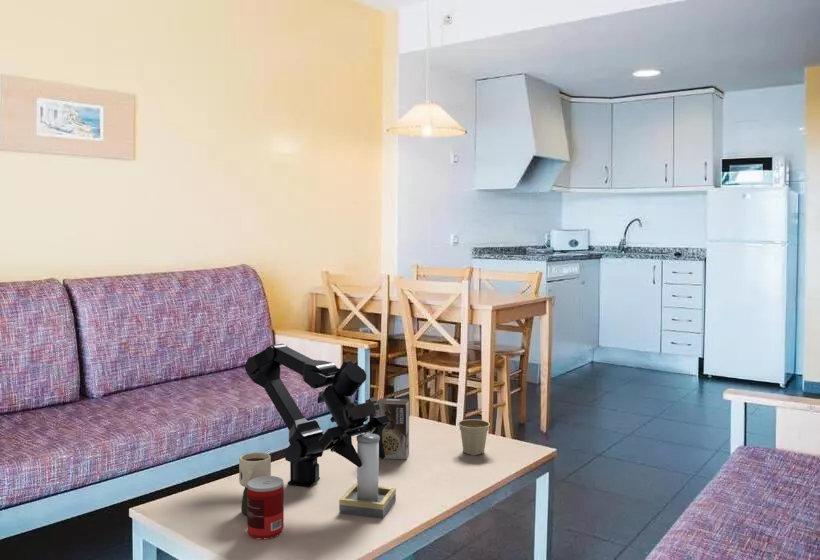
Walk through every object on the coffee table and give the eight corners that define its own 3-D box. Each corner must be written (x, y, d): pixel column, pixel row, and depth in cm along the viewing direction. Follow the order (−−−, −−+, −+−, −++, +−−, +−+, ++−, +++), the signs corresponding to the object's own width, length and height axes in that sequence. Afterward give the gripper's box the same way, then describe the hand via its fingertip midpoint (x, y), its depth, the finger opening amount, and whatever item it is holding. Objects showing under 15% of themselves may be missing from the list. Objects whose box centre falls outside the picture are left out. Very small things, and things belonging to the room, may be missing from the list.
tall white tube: (357, 503, 162) (357, 440, 161) (355, 494, 168) (355, 433, 167) (380, 502, 163) (380, 439, 162) (378, 493, 168) (378, 433, 168)
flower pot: (452, 448, 211) (453, 420, 210) (481, 446, 213) (482, 418, 213) (464, 458, 202) (465, 428, 201) (494, 455, 204) (495, 426, 204)
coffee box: (409, 453, 206) (410, 398, 205) (406, 460, 200) (406, 404, 198) (379, 451, 207) (379, 397, 206) (374, 458, 201) (375, 402, 200)
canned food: (286, 524, 156) (286, 475, 155) (280, 539, 148) (280, 488, 147) (251, 524, 155) (250, 475, 155) (243, 540, 147) (243, 488, 147)
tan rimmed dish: (339, 513, 162) (339, 499, 162) (354, 496, 172) (354, 483, 172) (383, 518, 159) (383, 504, 159) (395, 501, 169) (395, 488, 169)
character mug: (246, 502, 167) (245, 449, 166) (275, 503, 167) (275, 449, 166) (233, 521, 157) (233, 464, 156) (265, 522, 156) (265, 465, 155)
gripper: (327, 394, 159) (360, 453, 153) (385, 381, 173) (417, 435, 166) (305, 421, 165) (336, 479, 159) (362, 407, 179) (393, 460, 172)
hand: (372, 462), depth 164 cm, fingers open, 7 cm apart
